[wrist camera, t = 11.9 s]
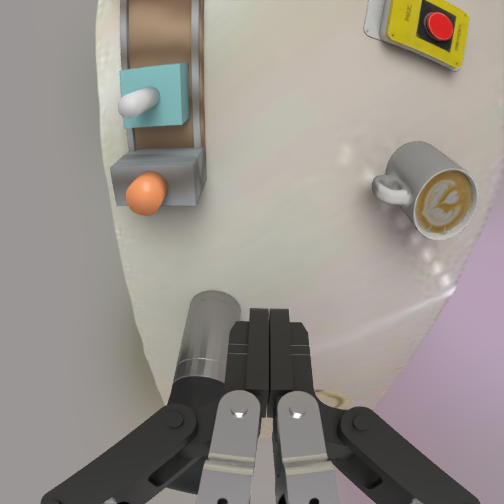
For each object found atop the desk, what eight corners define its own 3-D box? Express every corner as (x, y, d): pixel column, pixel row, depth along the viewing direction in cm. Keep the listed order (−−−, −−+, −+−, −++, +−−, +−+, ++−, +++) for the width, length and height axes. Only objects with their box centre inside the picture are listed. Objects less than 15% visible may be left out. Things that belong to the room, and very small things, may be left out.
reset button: (169, 202, 35) (162, 215, 32) (137, 202, 35) (128, 215, 32) (166, 170, 32) (158, 181, 30) (132, 171, 32) (122, 182, 30)
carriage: (189, 117, 35) (167, 139, 27) (136, 120, 35) (101, 144, 27) (188, 62, 31) (163, 66, 23) (132, 68, 31) (94, 76, 23)
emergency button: (473, 77, 27) (372, 32, 26) (456, 73, 31) (360, 34, 30) (484, 19, 22) (383, -32, 21) (466, 18, 25) (371, -25, 24)
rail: (206, 178, 42) (195, 205, 35) (138, 179, 42) (116, 205, 35) (205, -50, 23) (192, -72, 16) (127, -38, 23) (100, -52, 17)
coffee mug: (451, 151, 37) (488, 179, 29) (430, 208, 43) (460, 245, 35) (373, 127, 36) (403, 151, 28) (355, 193, 42) (377, 231, 34)
